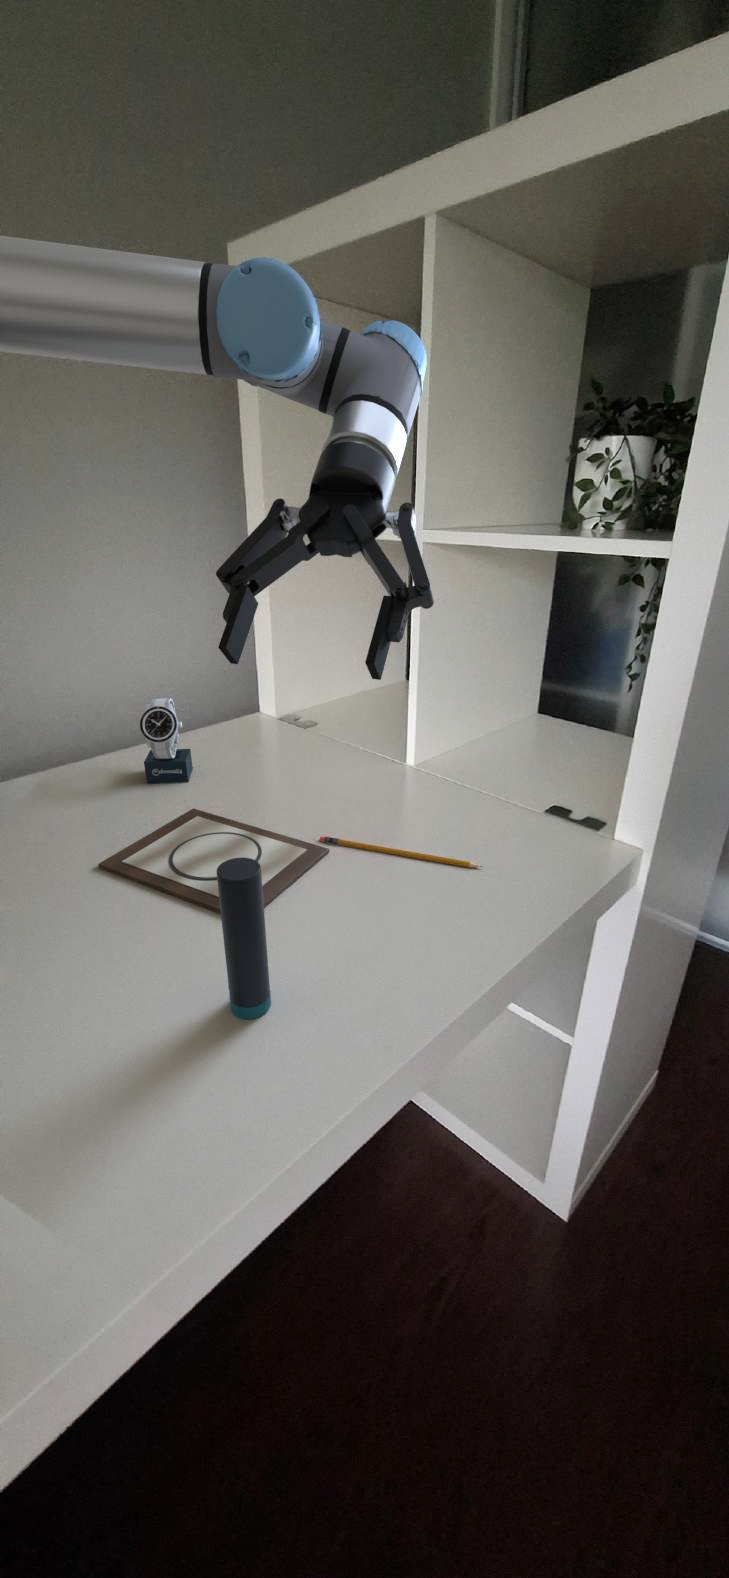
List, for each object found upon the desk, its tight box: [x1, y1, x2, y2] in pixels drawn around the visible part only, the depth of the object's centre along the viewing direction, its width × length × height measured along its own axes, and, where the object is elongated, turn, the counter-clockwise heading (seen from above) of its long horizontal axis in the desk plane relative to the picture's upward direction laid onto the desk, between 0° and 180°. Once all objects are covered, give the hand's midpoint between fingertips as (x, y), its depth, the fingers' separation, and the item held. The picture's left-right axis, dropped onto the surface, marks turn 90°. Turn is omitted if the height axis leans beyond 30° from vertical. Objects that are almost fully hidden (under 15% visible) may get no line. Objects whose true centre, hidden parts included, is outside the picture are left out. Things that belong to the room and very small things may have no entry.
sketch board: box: [97, 808, 330, 914], centre depth 76 cm, size 20×15×1 cm
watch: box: [139, 697, 194, 784], centre depth 93 cm, size 6×8×11 cm
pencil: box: [319, 835, 483, 868], centre depth 77 cm, size 19×1×1 cm, turn 71°
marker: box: [217, 858, 272, 1020], centre depth 53 cm, size 3×3×13 cm
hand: (298, 664), depth 59 cm, fingers open, 13 cm apart
